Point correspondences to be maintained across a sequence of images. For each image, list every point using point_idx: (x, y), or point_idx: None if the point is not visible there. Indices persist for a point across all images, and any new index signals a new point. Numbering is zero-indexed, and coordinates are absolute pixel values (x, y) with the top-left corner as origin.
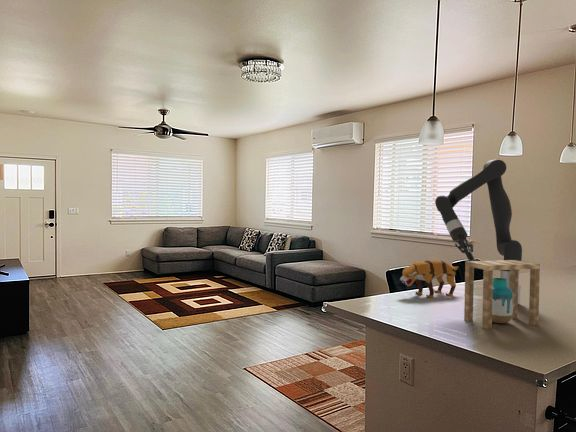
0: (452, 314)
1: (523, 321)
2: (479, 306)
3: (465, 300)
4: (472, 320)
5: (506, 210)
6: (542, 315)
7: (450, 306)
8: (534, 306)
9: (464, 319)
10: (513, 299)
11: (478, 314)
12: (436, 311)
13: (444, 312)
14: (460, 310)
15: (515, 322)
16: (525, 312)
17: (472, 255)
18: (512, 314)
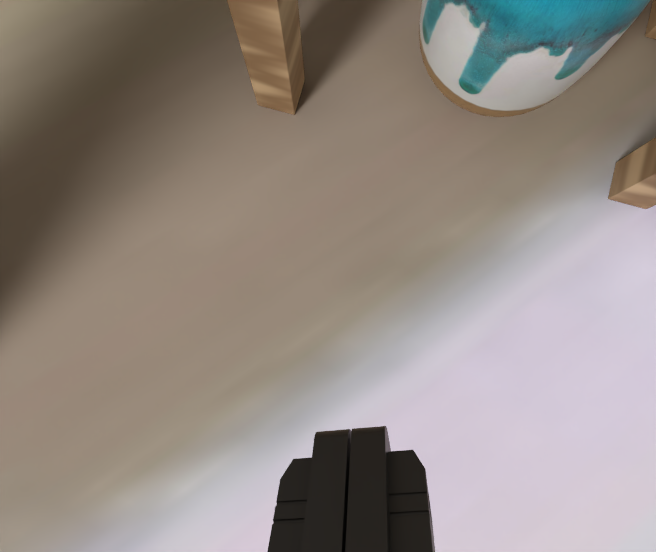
0: (587, 358)
1: (310, 8)
2: (170, 430)
3: None
4: (622, 161)
5: None
6: (34, 36)
7: None
8: None
9: (650, 204)
10: (296, 4)
11: (412, 265)
12: (626, 483)
13: (594, 429)
14: (428, 413)
15: (381, 18)
16: (49, 140)
17: (310, 510)
18: (302, 71)
